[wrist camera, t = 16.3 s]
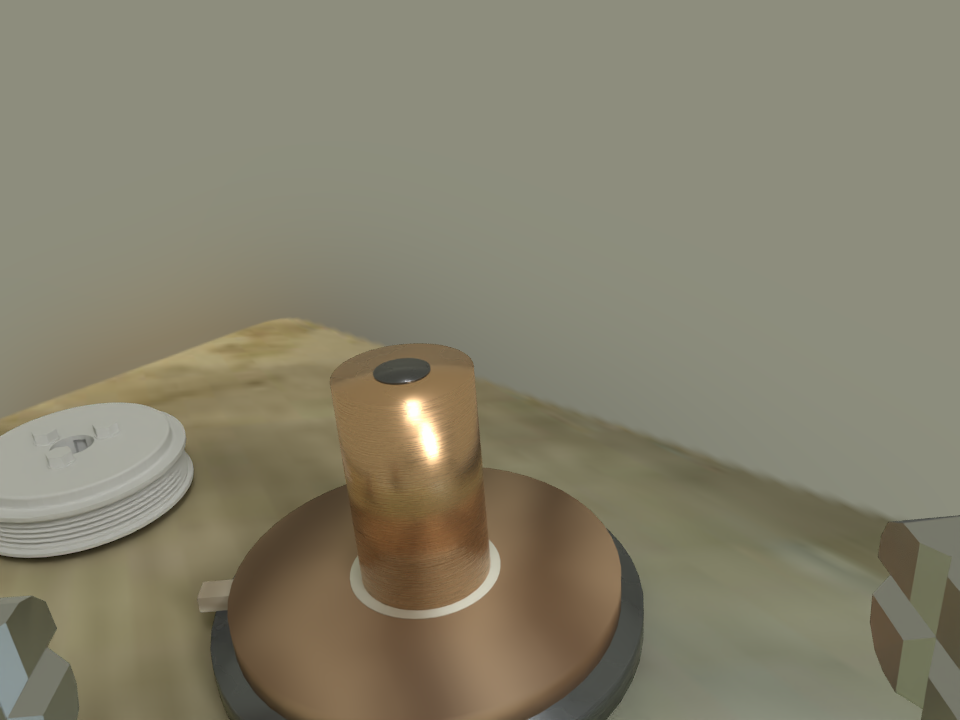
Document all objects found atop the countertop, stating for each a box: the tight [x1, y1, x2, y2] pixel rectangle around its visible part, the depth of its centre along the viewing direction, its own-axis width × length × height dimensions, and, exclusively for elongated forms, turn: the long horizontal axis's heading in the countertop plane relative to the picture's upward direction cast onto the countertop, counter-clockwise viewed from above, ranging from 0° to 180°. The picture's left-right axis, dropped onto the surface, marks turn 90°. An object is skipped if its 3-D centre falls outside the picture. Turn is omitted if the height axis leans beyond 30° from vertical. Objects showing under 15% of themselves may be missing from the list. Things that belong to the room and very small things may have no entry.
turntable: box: [197, 468, 621, 720], centre depth 41 cm, size 20×18×1 cm
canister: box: [330, 343, 491, 610], centre depth 38 cm, size 6×6×10 cm
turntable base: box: [211, 528, 644, 720], centre depth 41 cm, size 20×20×2 cm
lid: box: [0, 403, 194, 558], centre depth 52 cm, size 13×13×5 cm
